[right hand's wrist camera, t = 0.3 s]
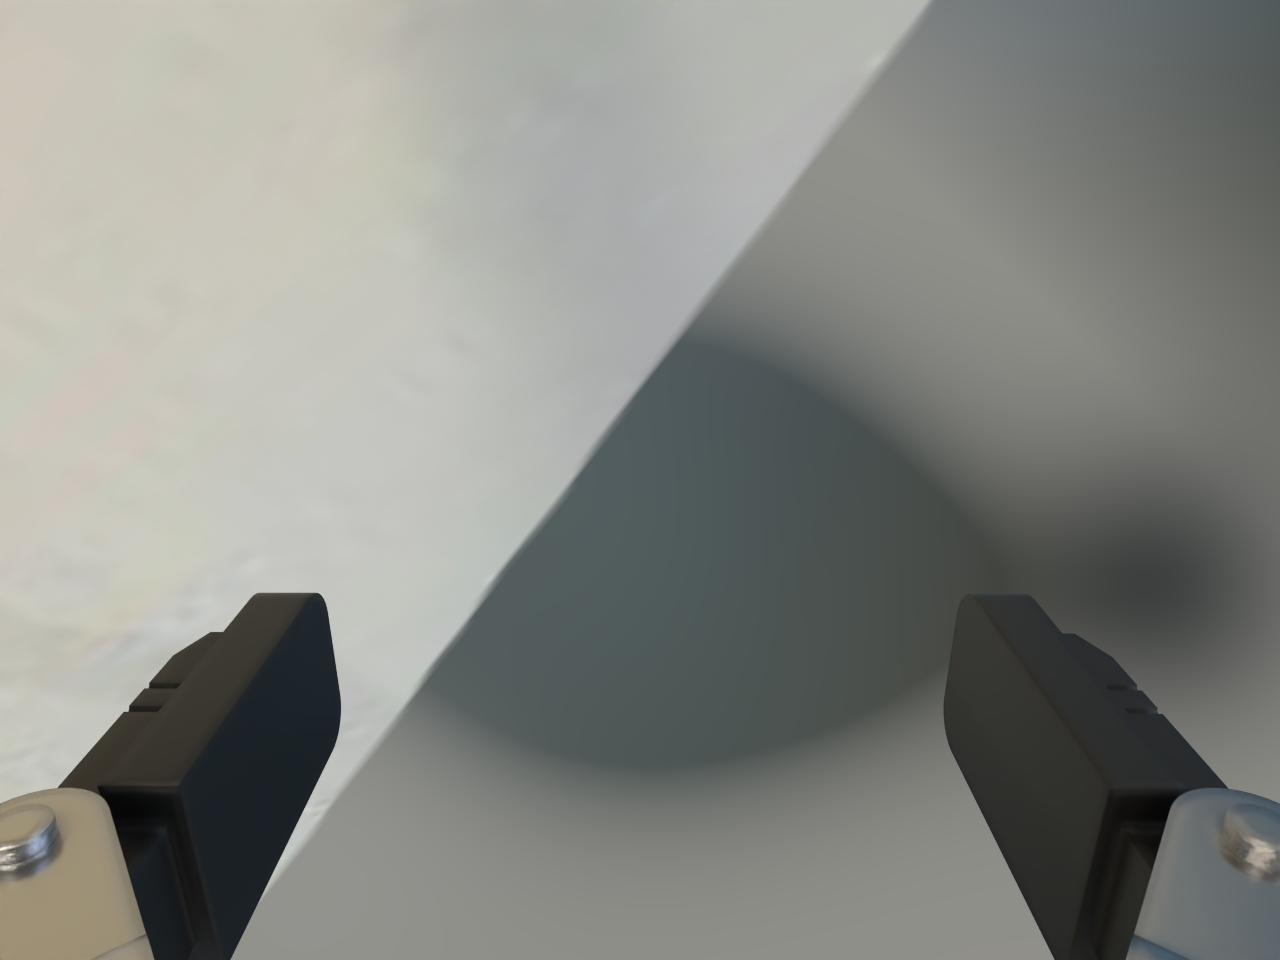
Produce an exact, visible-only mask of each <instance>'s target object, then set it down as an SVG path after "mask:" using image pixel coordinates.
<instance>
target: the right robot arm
mask: <svg viewBox="0 0 1280 960" xmlns="http://www.w3.org/2000/svg"><path fill="white" fill-rule="evenodd" d="M340 717H341V699H340V691H339V684H338V677H337V671H336V664H335V657H334V651H333V644H332V637H331V631H330V624H329V617H328V611H327V607H326V603H325V601H324V599H323V597H322V596H321V595H320V594H319V593H257V594H255V595H254V596H253V597H252V598H251V599H250V600H249V601H248V602H247V604H246V605H245V606H244V607H243V609H242V610H241V611H240V612H239V613H238V615H237V616H236V617H235V618H234V620H233V621H232V622H231V623H230V624H229V626H228V627H227V628H226V629H225V631H224V632H210V633H209V634H207V635H205V636H204V637H202V638H201V639H199V640H197V641H196V642H194V643H193V644H191V645H189V646H188V647H186V648H185V649H183V650H181V651H180V652H178V653H177V654H175V655H173V656H172V658H171V659H170V660H169V661H168V662H167V663H166V664H165V666H164V667H163V668H162V669H161V670H160V671H159V672H158V674H157V675H156V676H155V677H154V678H153V679H152V680H151V682H150V683H149V689H144V690H143V691H142V692H141V693H140V694H139V695H138V696H137V698H136V699H135V700H134V701H133V702H132V703H131V704H130V706H129V712H123V714H122V715H121V716H120V717H119V718H118V719H117V720H116V722H115V723H114V724H113V725H112V726H111V727H110V728H109V730H108V731H107V732H106V733H105V734H104V735H103V736H102V738H101V739H100V740H99V741H98V742H97V743H96V744H95V746H94V747H93V748H92V749H91V750H90V751H89V752H88V754H87V755H86V756H85V757H84V758H83V759H82V760H81V762H80V763H79V764H78V765H77V766H76V767H75V768H74V770H73V771H72V772H71V773H70V774H69V775H68V776H67V778H66V779H65V780H64V781H63V782H62V783H61V784H60V786H59V787H58V788H55V789H48V790H42V791H37V792H33V793H29V794H25V795H22V796H19V797H16V798H13V799H10V800H8V801H5V802H3V803H0V960H230V959H231V957H232V955H233V953H234V951H235V949H236V947H237V945H238V943H239V941H240V939H241V937H242V935H243V933H244V931H245V929H246V927H247V925H248V923H249V920H250V918H251V916H252V914H253V912H254V910H255V908H256V906H257V904H258V902H259V900H260V898H261V896H262V894H263V892H264V890H265V888H266V886H267V884H268V882H269V880H270V878H271V876H272V874H273V871H274V869H275V867H276V865H277V863H278V861H279V859H280V857H281V855H282V853H283V851H284V849H285V847H286V845H287V843H288V841H289V839H290V837H291V835H292V833H293V831H294V829H295V827H296V824H297V822H298V820H299V818H300V816H301V814H302V812H303V810H304V808H305V806H306V804H307V802H308V800H309V798H310V796H311V794H312V792H313V790H314V788H315V786H316V784H317V782H318V779H319V777H320V775H321V773H322V771H323V769H324V767H325V765H326V763H327V761H328V759H329V757H330V755H331V753H332V751H333V749H334V746H335V743H336V740H337V736H338V732H339V726H340ZM944 724H945V730H946V735H947V740H948V743H949V746H950V749H951V751H952V753H953V755H954V757H955V759H956V761H957V763H958V765H959V767H960V770H961V772H962V774H963V775H964V778H965V780H966V782H967V784H968V786H969V788H970V790H971V792H972V794H973V796H974V798H975V800H976V802H977V804H978V806H979V808H980V810H981V812H982V814H983V816H984V818H985V820H986V822H987V824H988V826H989V828H990V830H991V832H992V834H993V836H994V838H995V840H996V842H997V844H998V846H999V848H1000V850H1001V852H1002V854H1003V856H1004V858H1005V860H1006V862H1007V864H1008V866H1009V868H1010V870H1011V872H1012V874H1013V876H1014V879H1015V881H1016V883H1017V884H1018V887H1019V889H1020V891H1021V893H1022V895H1023V897H1024V899H1025V901H1026V903H1027V905H1028V907H1029V909H1030V911H1031V913H1032V915H1033V917H1034V919H1035V921H1036V923H1037V925H1038V927H1039V929H1040V931H1041V933H1042V935H1043V937H1044V939H1045V941H1046V943H1047V945H1048V947H1049V949H1050V951H1051V953H1052V955H1053V957H1054V959H1055V960H1280V804H1279V803H1277V802H1275V801H1272V800H1270V799H1267V798H1264V797H1261V796H1258V795H1255V794H1251V793H1247V792H1243V791H1238V790H1232V789H1228V788H1227V786H1226V785H1225V784H1224V783H1223V782H1222V781H1221V780H1220V779H1219V777H1218V776H1217V775H1216V774H1215V773H1214V772H1213V771H1212V770H1211V768H1210V767H1209V766H1208V765H1207V764H1206V763H1205V762H1204V760H1203V759H1202V758H1201V757H1200V756H1199V755H1198V754H1197V752H1196V751H1195V750H1194V749H1193V748H1192V747H1191V746H1190V745H1189V743H1188V742H1187V741H1186V740H1185V739H1184V738H1183V737H1182V735H1181V734H1180V733H1179V732H1178V731H1177V730H1176V729H1175V728H1174V726H1173V725H1172V724H1171V723H1170V722H1169V721H1168V720H1167V719H1166V717H1165V716H1164V715H1163V714H1158V712H1157V707H1156V706H1155V705H1154V704H1153V703H1152V702H1151V700H1150V699H1149V698H1148V697H1147V696H1146V695H1145V694H1144V692H1143V691H1138V690H1137V685H1136V683H1135V682H1134V681H1133V680H1132V679H1131V678H1130V677H1129V675H1128V674H1127V673H1126V672H1125V671H1124V670H1123V669H1122V668H1121V666H1120V665H1119V664H1118V663H1117V662H1116V661H1115V660H1114V658H1113V657H1111V656H1110V655H1108V654H1106V653H1105V652H1103V651H1102V650H1100V649H1098V648H1097V647H1095V646H1093V645H1092V644H1090V643H1089V642H1087V641H1085V640H1084V639H1082V638H1081V637H1079V636H1077V635H1076V634H1062V633H1061V631H1060V630H1059V629H1058V628H1057V626H1056V625H1055V624H1054V623H1053V622H1052V620H1051V619H1050V618H1049V617H1048V616H1047V614H1046V613H1045V612H1044V611H1043V610H1042V608H1041V607H1040V606H1039V605H1038V604H1037V602H1036V601H1035V600H1034V599H1033V598H1032V597H1031V596H1029V595H1025V594H968V595H965V596H964V597H963V599H962V600H961V602H960V604H959V608H958V612H957V617H956V624H955V630H954V637H953V644H952V650H951V657H950V663H949V670H948V677H947V683H946V690H945V697H944Z"/></svg>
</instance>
